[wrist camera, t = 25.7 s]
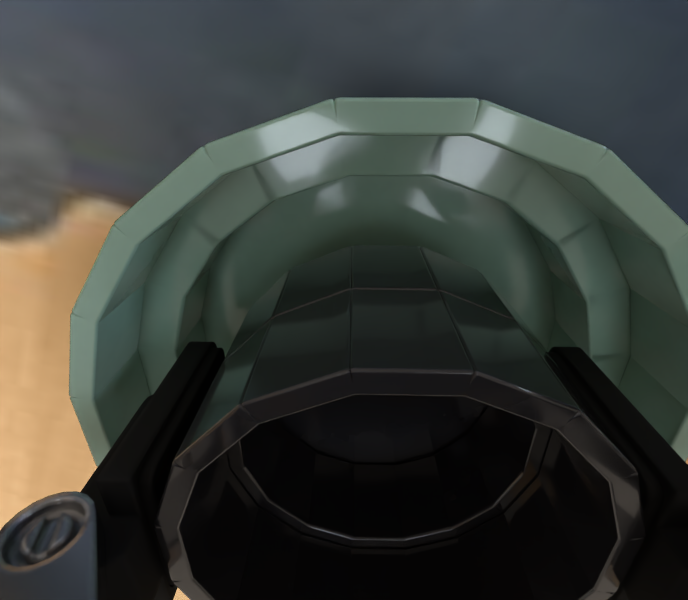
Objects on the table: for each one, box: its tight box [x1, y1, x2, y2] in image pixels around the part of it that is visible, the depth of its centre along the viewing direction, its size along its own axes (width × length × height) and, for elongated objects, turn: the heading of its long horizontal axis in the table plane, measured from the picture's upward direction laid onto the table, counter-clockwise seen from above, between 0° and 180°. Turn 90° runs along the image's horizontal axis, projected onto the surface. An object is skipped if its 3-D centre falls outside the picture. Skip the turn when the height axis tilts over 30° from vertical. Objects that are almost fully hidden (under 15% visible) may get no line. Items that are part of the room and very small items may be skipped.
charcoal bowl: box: [154, 245, 646, 600], centre depth 9 cm, size 7×7×5 cm
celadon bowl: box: [69, 97, 688, 466], centre depth 11 cm, size 13×13×4 cm
